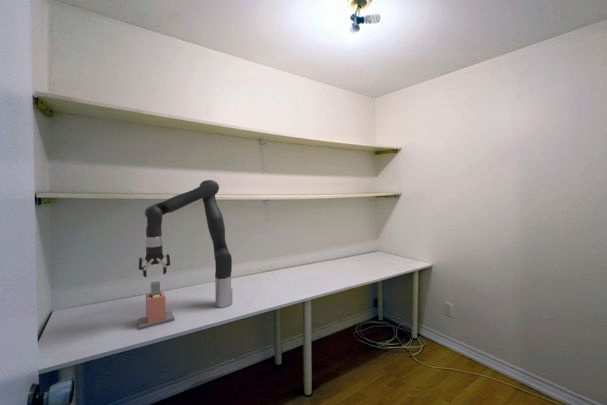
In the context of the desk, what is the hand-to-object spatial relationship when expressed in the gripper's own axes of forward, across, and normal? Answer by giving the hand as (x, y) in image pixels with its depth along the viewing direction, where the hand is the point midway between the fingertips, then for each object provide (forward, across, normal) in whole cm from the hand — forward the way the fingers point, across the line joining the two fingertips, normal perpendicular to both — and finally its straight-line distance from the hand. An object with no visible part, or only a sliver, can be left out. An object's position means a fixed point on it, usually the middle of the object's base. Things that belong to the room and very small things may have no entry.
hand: (155, 275), depth 142 cm
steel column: (+22, 0, 0) cm, 22 cm away
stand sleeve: (+24, 0, 0) cm, 25 cm away
